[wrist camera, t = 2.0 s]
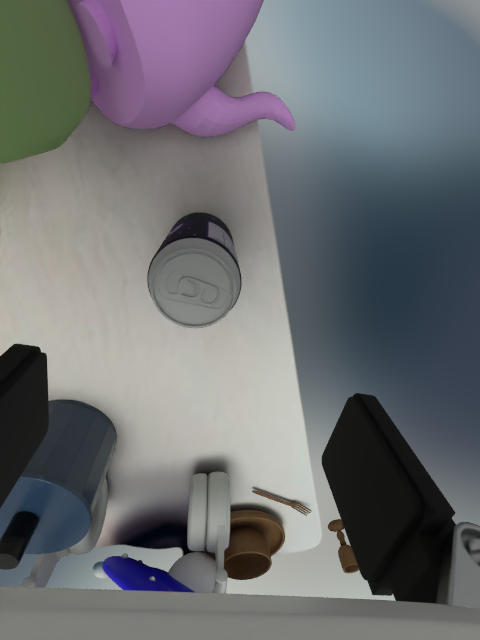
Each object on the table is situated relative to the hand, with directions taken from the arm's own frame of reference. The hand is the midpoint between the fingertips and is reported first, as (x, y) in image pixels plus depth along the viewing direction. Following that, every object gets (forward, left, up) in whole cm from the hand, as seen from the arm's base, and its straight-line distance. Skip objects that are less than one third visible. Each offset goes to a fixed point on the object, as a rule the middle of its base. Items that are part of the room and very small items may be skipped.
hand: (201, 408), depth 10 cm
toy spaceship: (+45, -13, -13) cm, 48 cm away
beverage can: (0, -1, -22) cm, 22 cm away
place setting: (+45, -1, -22) cm, 50 cm away
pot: (+19, -21, -22) cm, 35 cm away
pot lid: (+19, -21, -12) cm, 30 cm away
